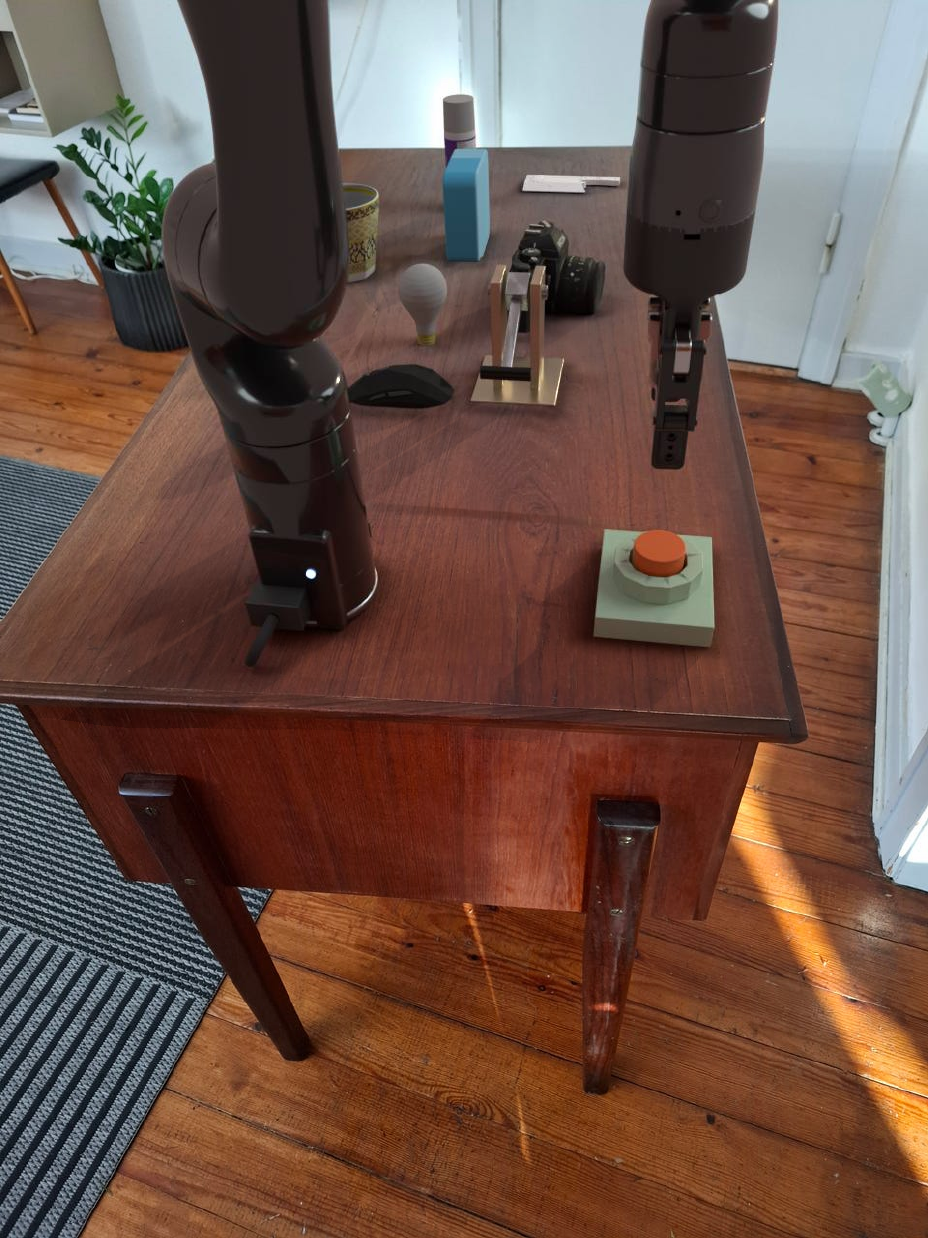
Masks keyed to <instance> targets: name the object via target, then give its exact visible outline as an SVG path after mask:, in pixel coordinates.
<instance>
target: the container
mask: <svg viewBox="0 0 928 1238" xmlns="http://www.w3.org/2000/svg"><path fill="white" fill-rule="evenodd" d="M442 115H443V116H442V117H443V118H442V119H443V144H444V145H443V146H444V161H445V162H444V163H445V168H446V167H447V165H448V163H449V161H450V158H451V156H452V154H453V152H454V150H455V149H477V137H476V136H477V135H476V117H475V100H474V96H472V95H470V94H464V93H463V94H462V93H460V94H459V93H458V94H451V95H450V94H449V95H446V96H444V97H443V98H442Z"/></svg>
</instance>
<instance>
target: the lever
mask: <svg viewBox="0 0 928 1238" xmlns="http://www.w3.org/2000/svg"><path fill="white" fill-rule="evenodd" d="M530 284H531V281H530V273H521V272H509V271H508V273H507V285H506V291H505V298H506V307H507V311H508V310H509V316H508V315H507V329H506V336H505V342H504V349H503V355H502V362H501V366H485V365H480V368H479V373H480V379H486V380H507V381H527V382H531V380H532V368H528V367H513V365H514V358H515V356H516V351H517V344H518V338H519V332H518V331H519V324H520V317H521V311H528V307H529V300H530Z"/></svg>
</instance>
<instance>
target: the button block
mask: <svg viewBox="0 0 928 1238" xmlns="http://www.w3.org/2000/svg"><path fill="white" fill-rule="evenodd" d="M647 531H648V530H646V531H635V530H622V529H621V530H620V529H609V528H608V529H606V528H605V529H604V530H603V538H602V547H601V555H600V556H601V558H600V564H599V565H600V567H599V576H598V586H597V593H596V604H595V613H594V622H593V623H594V624H593V637H595V638H602V639H603V638H604V639H605V638H606V639H613V640H614V639H616V640H626V641H638V642H646V643H647V642H649V643H657V644H669V645H681V646H690V647H700V648H702V647H703V648H711V645H712V641H713V636H714V631H715V603H714V598H715V597H714V567H713V538H712V536H702V535H687V534H677V535H678V536H679V537H681V538H682V539H683V541H684V543H685V545H686V552H685V558H684V564H683V568H682V570H681V571H680V572H679V573H678V574H676V575H674V576H670V577H667V578H664V577H651V576H648V575H646V574H643V573H641V572H639V571H638V570H637V569H636V568H635V567H634V565H633V560H632V559H633V550H634V542H635V540H636V538H637V537H638V536H639V535H640V534H642V533H644V532H647Z"/></svg>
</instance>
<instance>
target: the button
mask: <svg viewBox="0 0 928 1238" xmlns="http://www.w3.org/2000/svg"><path fill="white" fill-rule="evenodd" d="M646 531H647V532H645V531H643V532H644V533H642V534H640V535H639V536H638V537H637V538H636V540H635V542H634V550H633V559H632V560H633V565H634V567H635V568H636V569H637V570H638V571H639V572H641V573H643V574H646V575H648V576H651V577H664V578H667V577H670V576H674V575H676V574H678V573H679V572H680V571H681V570H682V568H683V564H684V558H685V552H686V545H685V543H684V541H683V539H682V538H681V537H679V536H678V535H679V534H676V533H674V532H672V531H669V530H662V529H650V530H646Z"/></svg>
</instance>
